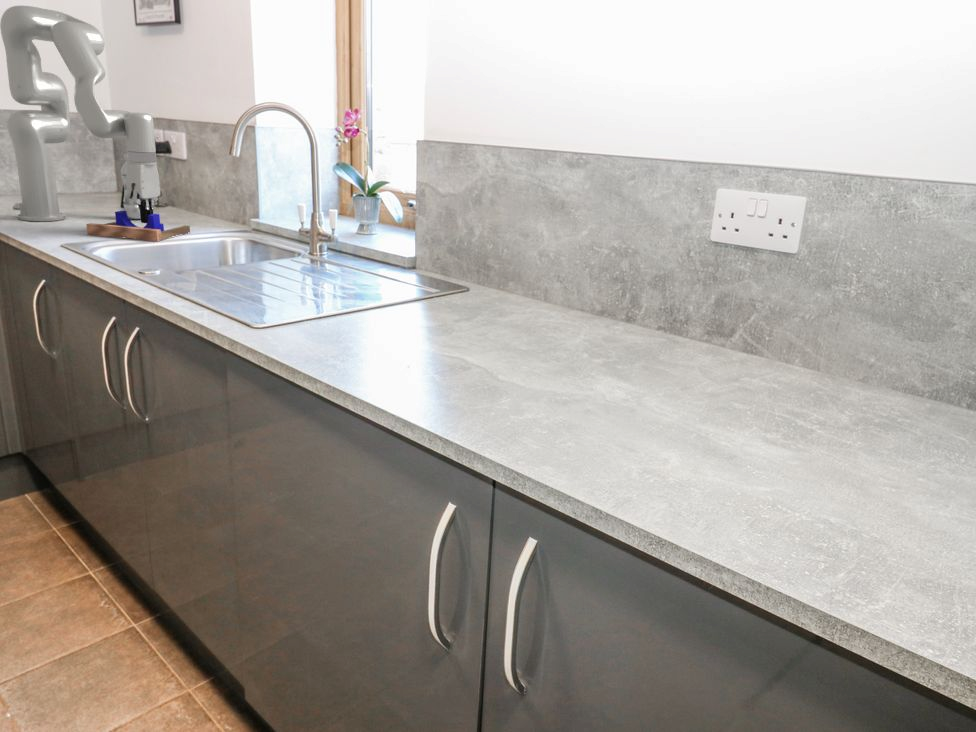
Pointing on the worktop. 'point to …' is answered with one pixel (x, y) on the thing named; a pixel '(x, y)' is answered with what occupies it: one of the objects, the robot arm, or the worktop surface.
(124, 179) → the plastic bottle
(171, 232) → the guide channel
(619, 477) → the worktop surface
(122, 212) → the cable clip
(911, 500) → the worktop surface
